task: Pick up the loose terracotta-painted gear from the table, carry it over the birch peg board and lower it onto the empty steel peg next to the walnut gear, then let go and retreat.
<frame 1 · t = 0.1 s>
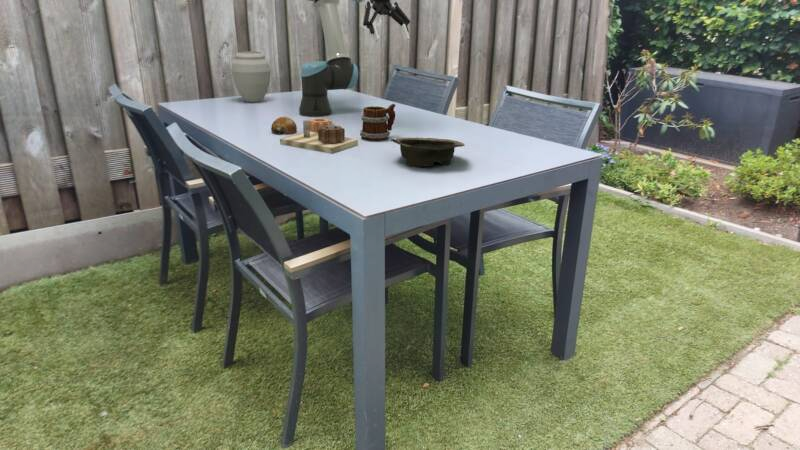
hand: (392, 40, 220), 36 cm above the table, fingers open, 13 cm apart
vase: (253, 101, 292), on the table
peg board: (319, 144, 210), on the table
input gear: (320, 132, 229), on the table
stone bowl: (427, 161, 193), on the table
mug: (377, 138, 223), on the table
bread roll: (284, 132, 228), on the table
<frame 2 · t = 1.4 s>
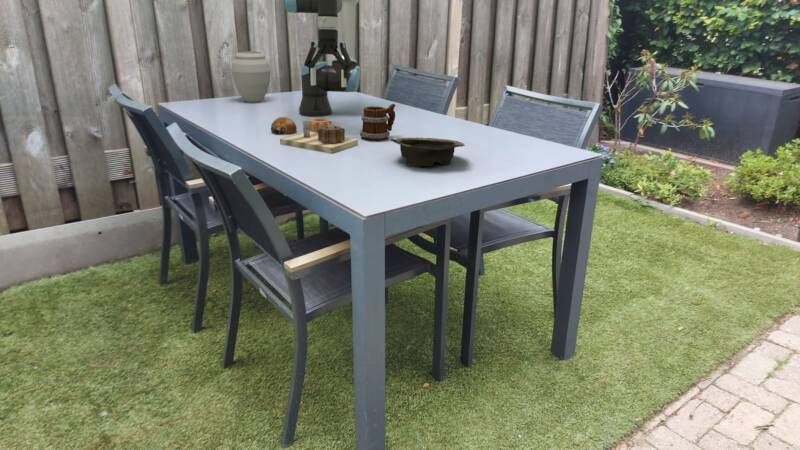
hand: (328, 86, 221), 19 cm above the table, fingers open, 13 cm apart
nothing on the table moved.
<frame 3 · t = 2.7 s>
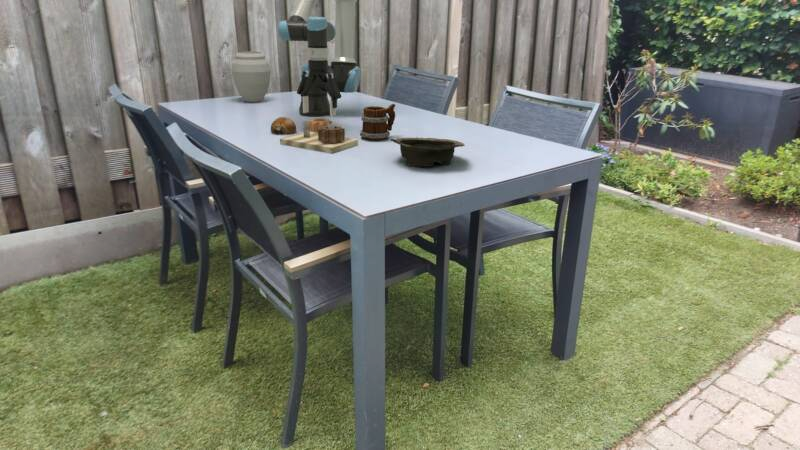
hand: (319, 114, 226), 7 cm above the table, fingers open, 13 cm apart
nothing on the table moved.
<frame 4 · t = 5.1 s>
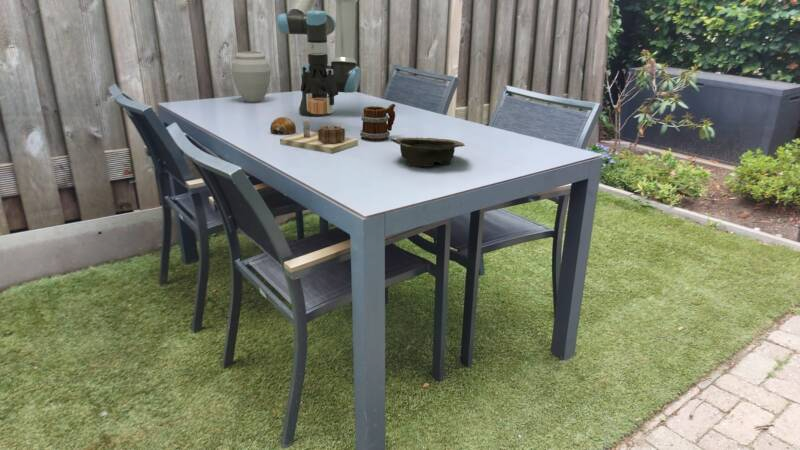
hand: (319, 111, 226), 8 cm above the table, fingers closed on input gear, 10 cm apart
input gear: (319, 112, 226), point 8 cm above the table, touching gripper
everything else where it was.
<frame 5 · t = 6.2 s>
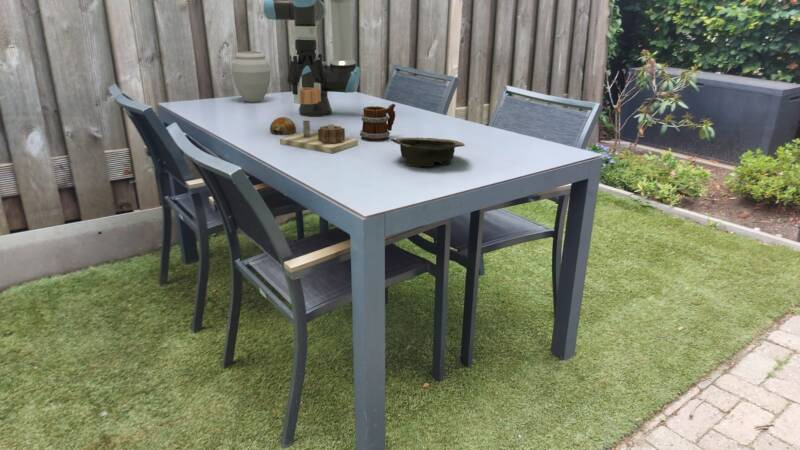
hand: (307, 101, 210), 15 cm above the table, fingers closed on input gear, 10 cm apart
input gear: (307, 102, 210), point 14 cm above the table, touching gripper
everything else where it was.
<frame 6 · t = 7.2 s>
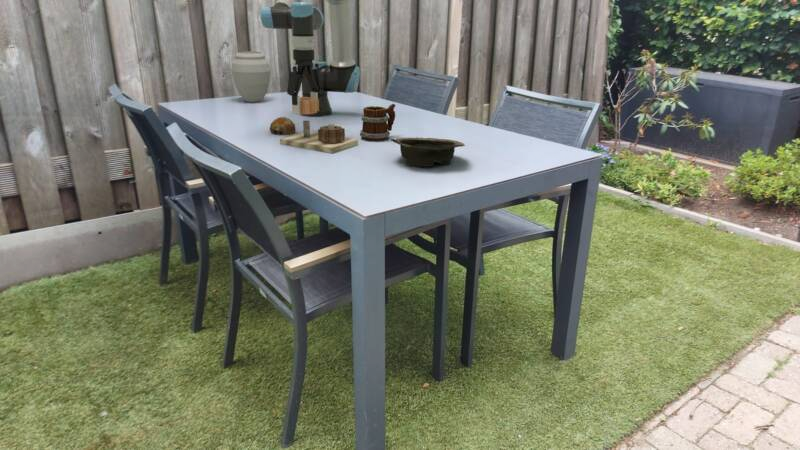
hand: (305, 111, 209), 11 cm above the table, fingers closed on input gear, 10 cm apart
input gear: (305, 112, 209), point 11 cm above the table, touching gripper
everything else where it was.
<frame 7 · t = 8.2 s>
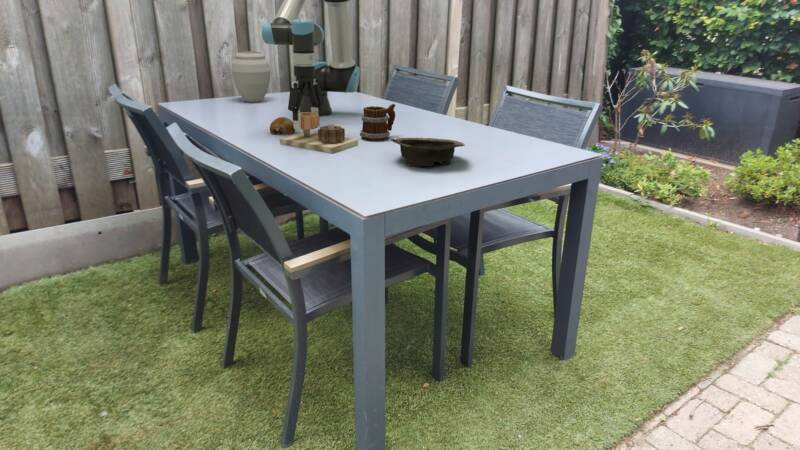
hand: (306, 126, 211), 6 cm above the table, fingers closed on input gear, 10 cm apart
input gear: (306, 127, 211), point 6 cm above the table, touching gripper
everything else where it was.
when the fingers open (3 cm above the table, at t = 9.4 s): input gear stays where it is, resting on peg board.
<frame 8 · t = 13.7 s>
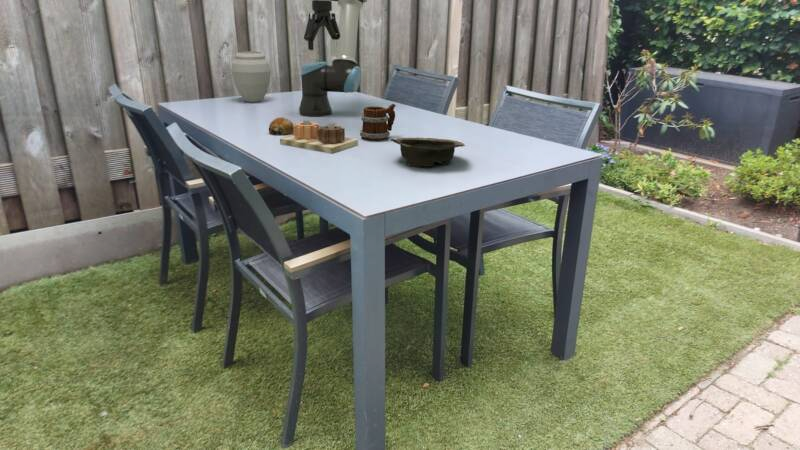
hand: (323, 57, 224), 29 cm above the table, fingers open, 13 cm apart
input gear: (306, 136, 212), point 2 cm above the table, touching peg board
at the end: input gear 0.1 cm from the target spot on the peg board, point 2.0 cm above the peg board's base; the gripper is holding nothing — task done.
